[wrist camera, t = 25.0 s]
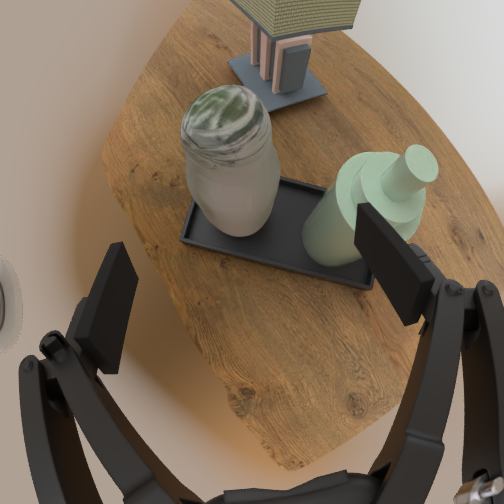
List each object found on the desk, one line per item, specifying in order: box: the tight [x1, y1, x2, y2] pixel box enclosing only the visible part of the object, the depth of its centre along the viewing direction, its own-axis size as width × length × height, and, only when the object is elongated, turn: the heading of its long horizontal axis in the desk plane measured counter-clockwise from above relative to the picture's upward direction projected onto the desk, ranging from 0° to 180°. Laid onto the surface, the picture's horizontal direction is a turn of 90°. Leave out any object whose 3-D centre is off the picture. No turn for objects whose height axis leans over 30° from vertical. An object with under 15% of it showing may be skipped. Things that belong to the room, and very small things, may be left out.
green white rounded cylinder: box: [180, 85, 280, 237], centre depth 33 cm, size 10×10×28 cm
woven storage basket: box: [227, 0, 361, 113], centre depth 36 cm, size 18×14×33 cm
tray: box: [179, 176, 375, 291], centre depth 46 cm, size 31×14×3 cm, turn 75°
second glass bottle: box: [302, 145, 438, 267], centre depth 32 cm, size 10×10×28 cm
